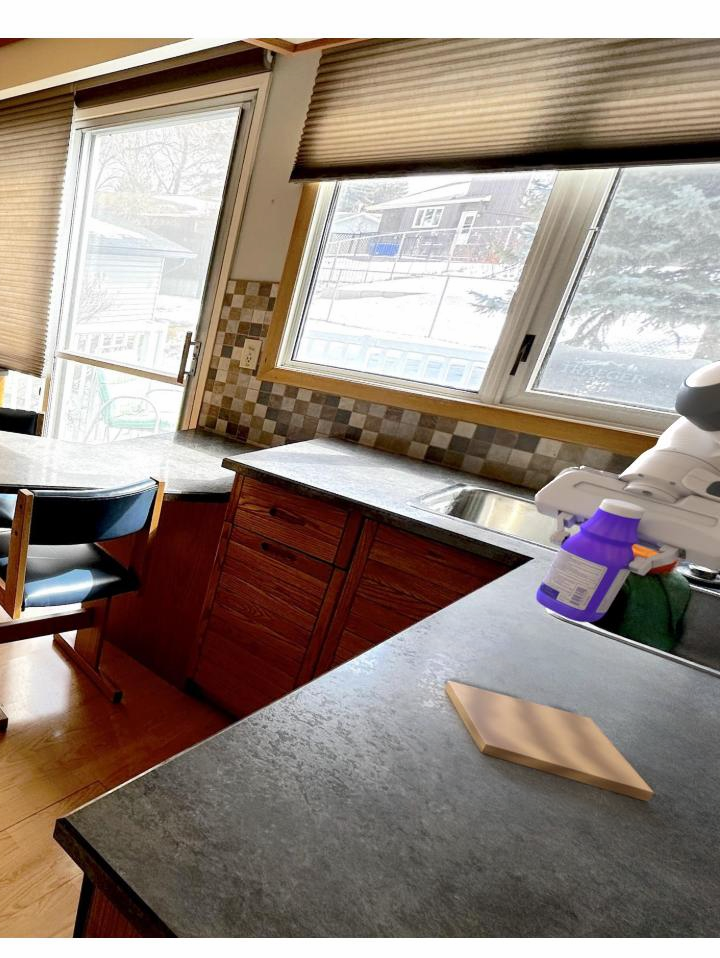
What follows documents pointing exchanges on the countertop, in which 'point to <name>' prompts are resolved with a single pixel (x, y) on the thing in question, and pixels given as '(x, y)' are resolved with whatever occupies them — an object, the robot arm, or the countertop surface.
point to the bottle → (592, 563)
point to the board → (545, 740)
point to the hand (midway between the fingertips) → (594, 556)
